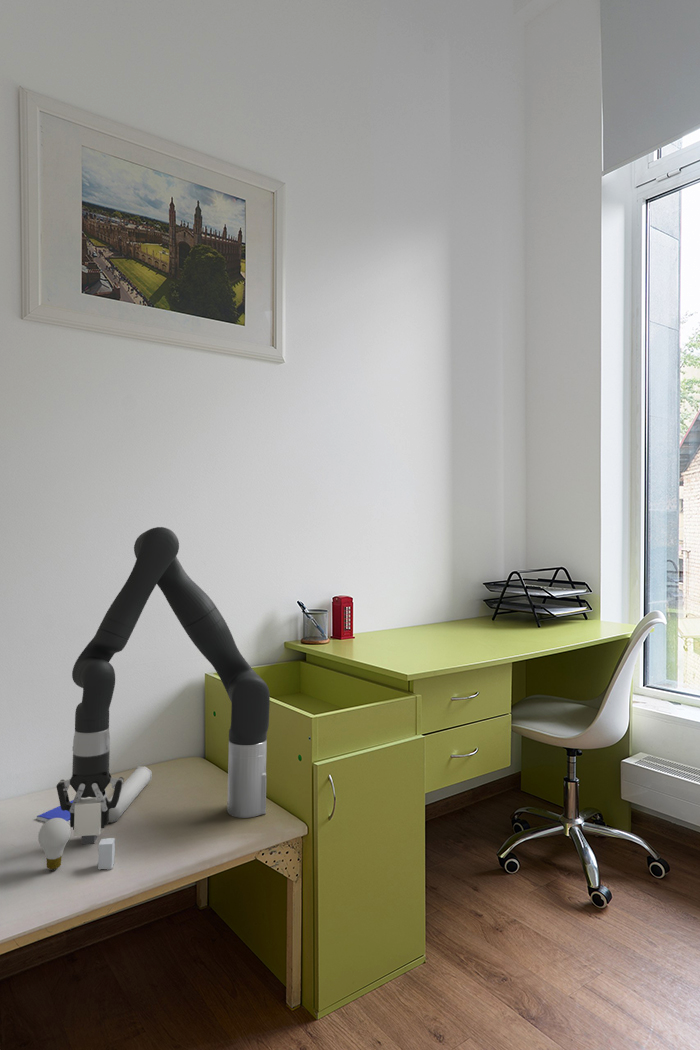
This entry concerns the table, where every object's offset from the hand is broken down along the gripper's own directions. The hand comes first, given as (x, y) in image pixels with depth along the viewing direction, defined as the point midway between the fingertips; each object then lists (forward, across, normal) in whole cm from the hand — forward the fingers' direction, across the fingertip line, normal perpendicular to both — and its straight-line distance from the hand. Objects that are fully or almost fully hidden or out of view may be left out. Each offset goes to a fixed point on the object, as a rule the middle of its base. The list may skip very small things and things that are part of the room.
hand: (89, 827), depth 142 cm
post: (+3, 0, 0) cm, 3 cm away
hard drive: (+4, +8, -16) cm, 18 cm away
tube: (+3, -4, -20) cm, 21 cm away
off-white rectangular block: (+1, 0, 0) cm, 1 cm away
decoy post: (+3, -6, +12) cm, 14 cm away
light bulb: (+3, +4, +12) cm, 13 cm away
